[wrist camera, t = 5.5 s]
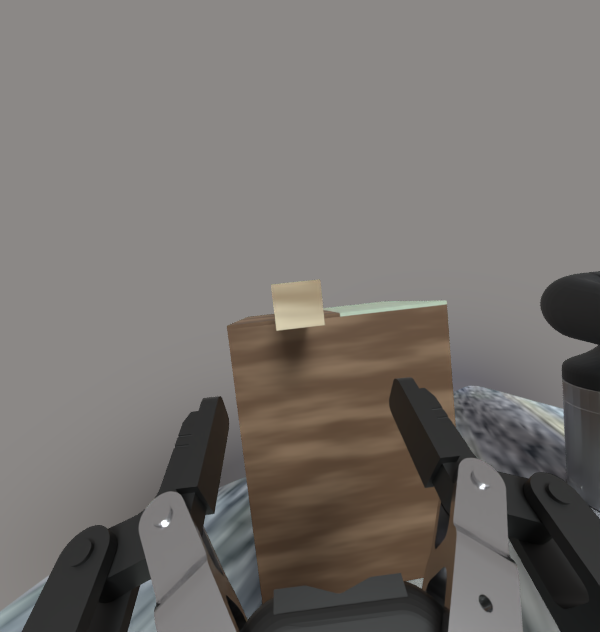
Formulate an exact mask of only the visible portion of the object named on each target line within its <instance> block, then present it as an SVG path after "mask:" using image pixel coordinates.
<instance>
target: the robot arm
mask: <svg viewBox="0 0 600 632" xmlns="http://www.w3.org/2000/svg"><path fill="white" fill-rule="evenodd" d="M540 303H541V305H540V306H541V310H542V313H543V316H544V318H545V319H546V321H547V322H548V323H549V324H550V325H551V326H552V327H553V328H554V329H555V330H557V331H558V332H560V333H561V334H563V335H565V336H568V337H571V338H574V339H578V340H582V341H586V342H590V343H594V344H598V346H597V347H595V348H594V349H593V350H590V351H588V352H586V353H583V354H581V355H578V356H574V357H571V358H569V359H567V360H565V361H564V362H563V365H562V384H563V407H564V431H565V454H566V476H567V483H566V482H565V481H563V480H562V479H560V478H558V477H557V476H554V475H552V474H549V473H544V472H538V473H535V474H533V475H532V476H531V477H530V478H529V479H528V478H523V477H519V476H514V475H510V474H506V473H501V472H498V471H496V470H495V469H494V468H493V467H492V466H490V465H489V464H487V463H486V462H484V461H482V460H479V459H477V458H476V456H475V455H474V454H473V453H472V451H471V450H470V448H469V447H468V445H467V444H466V442H465V441H464V439H463V438H462V436H461V435H460V433H459V432H458V430H457V429H456V427H455V426H454V424H453V423H452V421H451V420H450V418H448V415H447V413H446V412H445V410H444V409H443V408H442V406H441V404H440V403H439V401H438V400H437V398H436V397H435V396H434V395H433V394H432V393H431V392H429V391H428V390H427V389H426V388H419V387H418V385H417V384H416V382H415V381H414V379H413V378H411V377H407V378H397V379H394V380H393V384H392V388H391V393H390V397H389V407H390V411H391V413H392V416H393V418H394V420H395V422H396V424H397V427H398V429H399V431H400V433H401V436H402V438H403V440H404V442H405V445H406V447H407V449H408V451H409V454H410V456H411V458H412V460H413V463H414V465H415V467H416V469H417V472H418V474H419V476H420V478H421V480H422V483H423V485H424V487H425V488H429V487H434V488H435V490H436V492H437V494H438V496H439V501H438V507H437V514H436V521H435V527H434V534H433V540H432V547H431V552H430V555H429V558H428V561H427V564H426V569H425V573H424V579H423V586H422V589H421V588H419V587H417V586H416V585H413V584H411V583H409V582H406V581H403V578H402V575H401V573H396V574H388V575H381V576H373V577H369V578H367V579H366V580H364V581H362V582H360V583H359V584H357V585H355V586H353V587H352V588H350V589H348V590H346V591H345V592H343V593H339V594H338V593H333V592H329V591H326V590H322V589H318V588H314V587H310V586H306V585H305V586H297V587H289V588H282V589H274V597H273V598H271V599H269V600H268V601H266V602H265V603H264V604H263V605H261V606H260V607H259V608H258V609H257V610H256V611H255V612H254V613H253V614H252V616H251V617H250V618H249V619H248V620H247V618H246V616H245V613H244V611H243V609H242V607H241V604H240V602H239V600H238V598H237V596H236V594H235V592H234V590H233V588H232V586H231V584H230V582H229V581H228V579H227V577H226V575H225V573H224V570H223V568H222V566H221V564H220V562H219V559H218V557H217V555H216V553H215V550H214V548H213V546H212V544H211V541H210V539H209V537H208V535H207V533H206V530H205V528H204V526H203V525H204V519H205V515H209V514H214V512H215V506H216V501H217V495H218V489H219V483H220V476H221V471H222V466H223V460H224V453H225V448H226V442H227V436H228V430H229V418H228V414H227V411H226V409H225V405H224V402H223V400H222V398H221V396H220V397H209V398H203V400H202V402H201V405H200V408H199V411H196V412H191V413H190V414H189V416H188V417H187V418H186V419H185V421H184V422H183V424H182V427H181V430H180V433H179V437H178V438H177V441H176V444H175V448H174V450H173V453H172V455H171V459H170V462H169V464H168V467H167V470H166V473H165V476H164V479H163V481H162V484H161V487H160V490H159V492H158V494H157V496H156V497H155V499H154V500H153V501H152V502H151V503H150V504H149V505H148V506H147V507H146V509H144V511H142V512H141V513H139V514H138V515H136V516H134V517H132V518H130V519H128V520H126V521H124V522H122V523H119V524H117V525H115V526H113V527H111V528H109V529H107V528H106V527H104V526H102V525H95V526H92V527H89V528H87V529H85V530H83V531H82V532H81V533H79V534H78V535H76V536H75V537H74V538H73V539H72V540H71V541H70V542H69V543H68V544H67V546H66V547H65V548H64V550H63V551H62V553H61V554H60V556H59V558H58V560H57V562H56V564H55V566H54V568H53V570H52V572H51V574H50V576H49V578H48V580H47V582H46V584H45V586H44V588H43V590H42V592H41V594H40V596H39V598H38V600H37V602H36V604H35V606H34V608H33V610H32V612H31V614H30V616H29V618H28V620H27V622H26V624H25V626H24V628H23V630H22V632H127V631H128V628H129V624H130V620H131V617H132V613H133V609H134V606H135V602H136V598H137V595H138V591H139V587H140V585H141V584H143V583H144V582H146V581H148V580H150V579H151V580H152V584H153V588H154V592H155V596H156V607H155V610H154V617H155V624H156V628H157V632H523V629H522V612H521V596H520V580H519V572H518V568H517V565H516V563H515V562H514V560H512V559H511V558H510V555H509V550H508V538H509V540H510V542H511V543H512V545H513V547H514V549H515V550H516V552H517V554H518V556H519V558H520V559H521V561H522V563H523V565H524V567H525V568H526V570H527V572H528V574H529V576H530V577H531V579H532V581H533V583H534V585H535V586H536V588H537V590H538V592H539V593H540V595H541V597H542V599H543V601H544V602H545V604H546V606H547V608H548V610H549V611H550V613H551V615H552V617H553V619H554V620H555V622H556V624H557V626H558V628H559V629H560V631H561V632H600V519H599V517H598V516H597V515H596V514H595V513H594V511H593V510H592V509H591V508H590V507H589V506H591V507H593V508H595V509H597V510H598V511H600V271H598V272H589V273H580V274H574V275H570V276H566V277H563V278H560V279H558V280H556V281H554V282H553V283H552V284H550V285H549V286H548V287H547V289H546V290H545V291H544V293H543V295H542V297H541V302H540ZM588 505H589V506H588Z"/></svg>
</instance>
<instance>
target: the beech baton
mask: <svg viewBox="0 0 600 632" xmlns="http://www.w3.org/2000/svg"><path fill="white" fill-rule="evenodd" d="M271 287H272V297H273V305H274V314H275V323H276V331H278V330H286V329H295V328H304V327H312V326H321V325H325V322H324V312H323V303H322V293H321V284H320V280H311V281H301V282H292V283H282V284H272V285H271Z"/></svg>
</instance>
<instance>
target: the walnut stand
mask: <svg viewBox="0 0 600 632" xmlns="http://www.w3.org/2000/svg"><path fill="white" fill-rule="evenodd" d="M323 312H324V322H325V325H321V326H312V327H304V328H295V329H286V330H278V331H276V323H275V314H270V315H260V316H251V317H247V318H244V319H242V320H239V321H237V322H235V323H232V324H230V325H228V326H227V331H228V338H229V346H230V354H231V362H232V369H233V377H234V385H235V393H236V401H237V408H238V416H239V424H240V432H241V440H242V447H243V455H244V463H245V470H246V478H247V486H248V494H249V502H250V510H251V517H252V525H253V533H254V541H255V548H256V556H257V564H258V572H259V580H260V587H261V595H262V603H263V604H264V603H265V602H266V601H268V600H269V599H271V598H273V597H274V589H282V588H289V587H297V586H305V585H306V586H310V587H314V588H318V589H322V590H326V591H329V592H333V593H338V594H339V593H343V592H345V591H346V590H348V589H350V588H352V587H353V586H355V585H357V584H359V583H360V582H362V581H364V580H366V579H367V578H369V577H373V576H381V575H388V574H396V573H401V575H402V578H403V581H409V580H414V579H419V578H424V573H425V569H426V564H427V561H428V558H429V555H430V552H431V547H432V540H433V534H434V527H435V521H436V514H437V507H438V501H439V496H438V494H437V492H436V490H435V488H434V487H429V488H425V487H424V485H423V483H422V480H421V478H420V476H419V474H418V472H417V469H416V467H415V465H414V463H413V460H412V458H411V456H410V454H409V451H408V449H407V447H406V445H405V442H404V440H403V438H402V436H401V433H400V431H399V429H398V427H397V424H396V422H395V420H394V418H393V416H392V413H391V411H390V407H389V397H390V393H391V388H392V384H393V380H394V379H397V378H407V377H411V378H413V379H414V381H415V382H416V384H417V385H418V387H419V388H426V389H427V390H428V391H429V392H431V393H432V394H433V395H434V396H435V397H436V398H437V400H438V401H439V403H440V404H441V406H442V408H443V409H444V410H445V412H446V413H447V415H448V418H450V420H451V421H452V423H453V424H454V426H455V427H456V425H455V411H454V397H453V384H452V370H451V356H450V343H449V328H448V314H447V301H385V302H376V303H368V304H358V305H349V306H340V307H331V308H323Z"/></svg>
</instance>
